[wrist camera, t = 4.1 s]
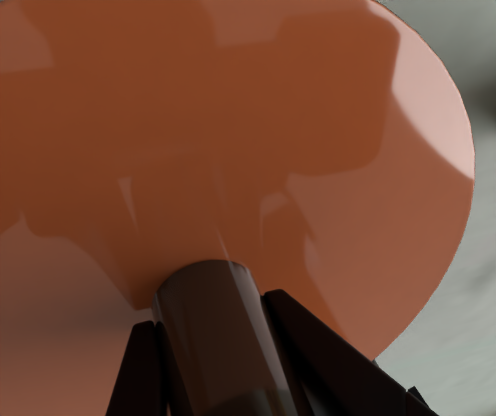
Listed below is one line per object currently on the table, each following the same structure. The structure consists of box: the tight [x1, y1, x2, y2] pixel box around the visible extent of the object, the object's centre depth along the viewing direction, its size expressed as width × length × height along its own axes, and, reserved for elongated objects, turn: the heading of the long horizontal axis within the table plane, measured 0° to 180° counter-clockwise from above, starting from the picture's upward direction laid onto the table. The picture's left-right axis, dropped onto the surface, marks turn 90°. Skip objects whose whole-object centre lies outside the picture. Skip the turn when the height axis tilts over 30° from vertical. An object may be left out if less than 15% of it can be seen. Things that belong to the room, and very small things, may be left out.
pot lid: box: [0, 0, 475, 416], centre depth 9 cm, size 14×14×6 cm
